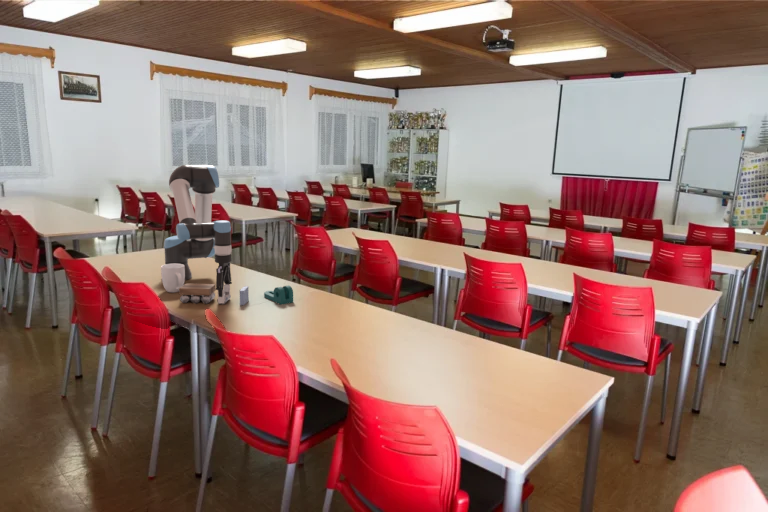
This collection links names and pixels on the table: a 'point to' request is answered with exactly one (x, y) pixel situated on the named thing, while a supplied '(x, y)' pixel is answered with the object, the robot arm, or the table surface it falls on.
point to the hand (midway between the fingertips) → (224, 300)
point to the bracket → (280, 295)
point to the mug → (173, 276)
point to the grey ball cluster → (197, 298)
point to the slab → (197, 289)
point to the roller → (225, 298)
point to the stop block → (244, 295)
